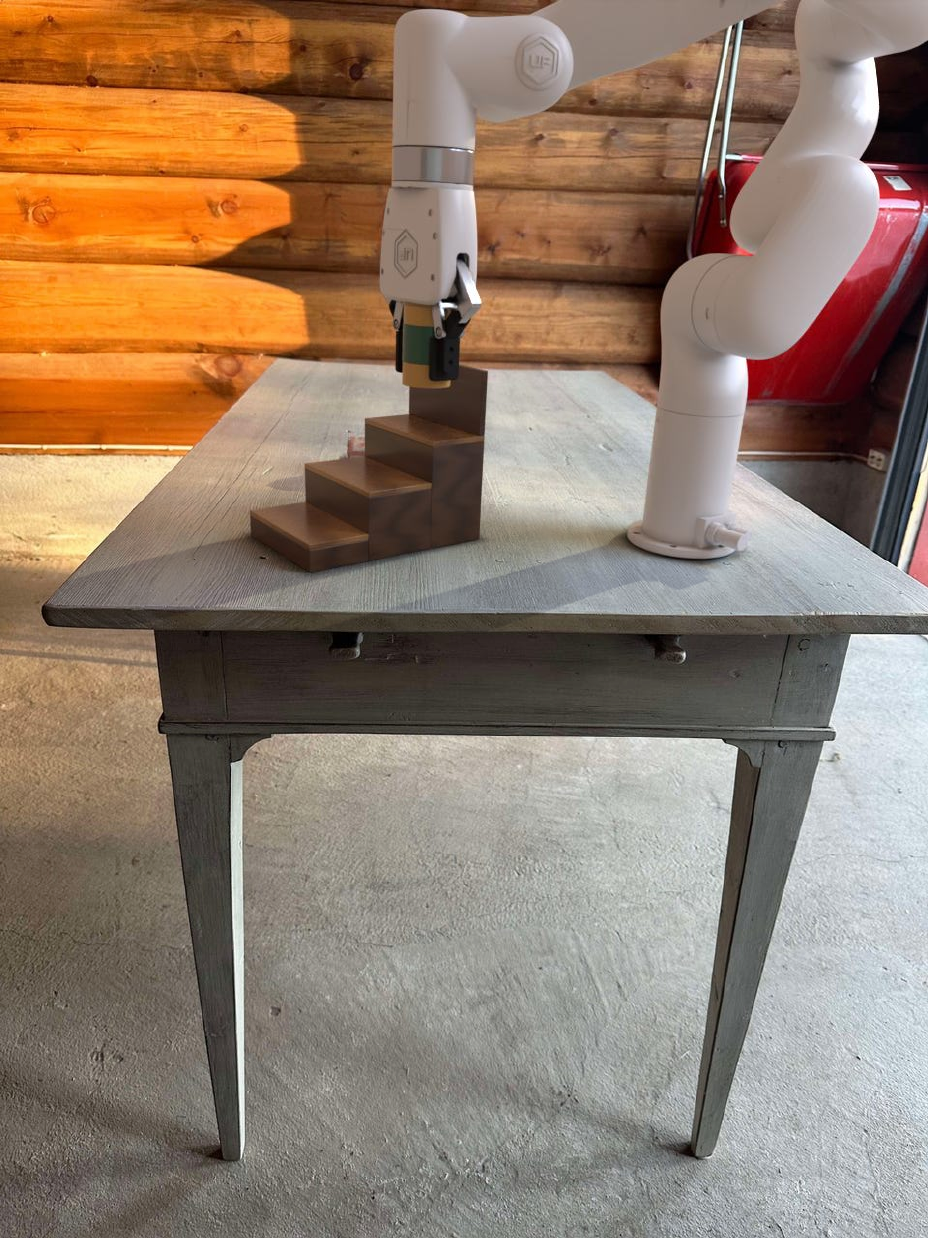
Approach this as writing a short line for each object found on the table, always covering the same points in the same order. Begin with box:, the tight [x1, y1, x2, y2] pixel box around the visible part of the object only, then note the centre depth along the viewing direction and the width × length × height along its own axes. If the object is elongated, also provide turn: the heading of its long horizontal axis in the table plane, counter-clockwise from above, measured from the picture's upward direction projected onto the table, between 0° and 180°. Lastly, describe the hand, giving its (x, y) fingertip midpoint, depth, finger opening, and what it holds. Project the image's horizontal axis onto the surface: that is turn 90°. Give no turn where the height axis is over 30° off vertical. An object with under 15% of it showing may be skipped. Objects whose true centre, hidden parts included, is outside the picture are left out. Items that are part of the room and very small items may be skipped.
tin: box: [401, 300, 451, 389], centre depth 89 cm, size 5×5×8 cm
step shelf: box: [249, 363, 489, 573], centre depth 101 cm, size 22×14×19 cm, turn 127°
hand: (426, 373), depth 91 cm, fingers closed on tin, 5 cm apart
